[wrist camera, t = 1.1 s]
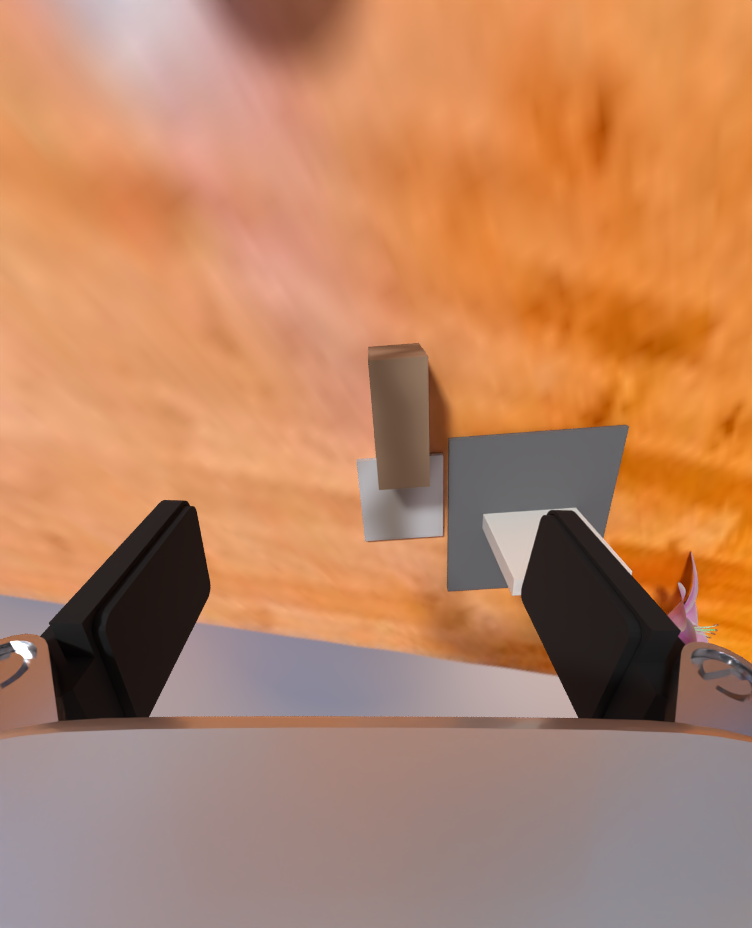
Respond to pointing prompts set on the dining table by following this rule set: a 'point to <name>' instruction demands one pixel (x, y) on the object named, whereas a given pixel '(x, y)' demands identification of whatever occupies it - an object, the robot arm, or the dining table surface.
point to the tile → (520, 542)
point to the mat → (524, 488)
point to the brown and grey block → (400, 450)
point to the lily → (689, 615)
